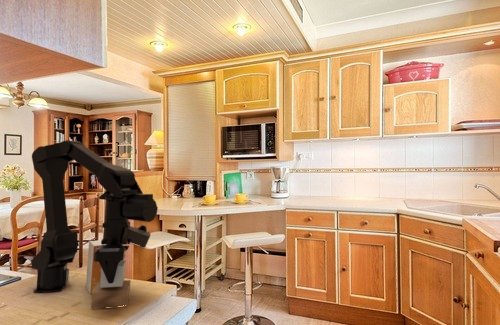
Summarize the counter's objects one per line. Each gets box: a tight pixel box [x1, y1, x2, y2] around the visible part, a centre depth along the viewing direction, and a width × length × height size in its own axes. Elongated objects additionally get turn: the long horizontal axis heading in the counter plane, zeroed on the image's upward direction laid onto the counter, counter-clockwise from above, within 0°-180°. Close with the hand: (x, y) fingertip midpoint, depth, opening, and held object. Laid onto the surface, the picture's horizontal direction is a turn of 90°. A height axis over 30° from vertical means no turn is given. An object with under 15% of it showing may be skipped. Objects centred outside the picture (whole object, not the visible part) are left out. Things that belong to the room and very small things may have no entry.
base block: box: [90, 279, 131, 310], centre depth 75 cm, size 8×7×4 cm
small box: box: [85, 239, 107, 295], centre depth 84 cm, size 8×6×13 cm
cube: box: [100, 259, 127, 288], centre depth 75 cm, size 5×5×5 cm
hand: (112, 279), depth 75 cm, fingers closed on cube, 5 cm apart
